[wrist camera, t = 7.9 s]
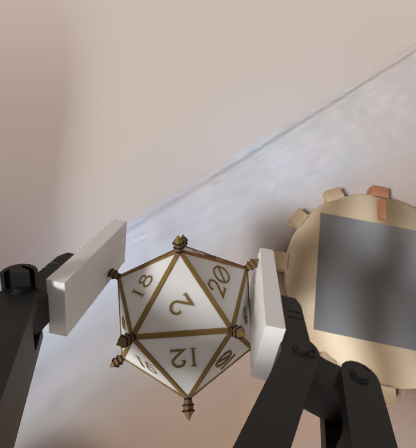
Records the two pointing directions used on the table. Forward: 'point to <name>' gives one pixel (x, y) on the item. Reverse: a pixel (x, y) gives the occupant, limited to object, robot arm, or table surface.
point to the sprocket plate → (357, 282)
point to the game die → (184, 318)
